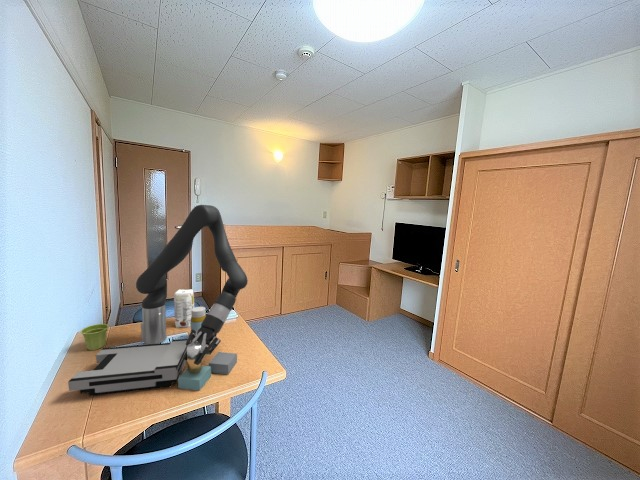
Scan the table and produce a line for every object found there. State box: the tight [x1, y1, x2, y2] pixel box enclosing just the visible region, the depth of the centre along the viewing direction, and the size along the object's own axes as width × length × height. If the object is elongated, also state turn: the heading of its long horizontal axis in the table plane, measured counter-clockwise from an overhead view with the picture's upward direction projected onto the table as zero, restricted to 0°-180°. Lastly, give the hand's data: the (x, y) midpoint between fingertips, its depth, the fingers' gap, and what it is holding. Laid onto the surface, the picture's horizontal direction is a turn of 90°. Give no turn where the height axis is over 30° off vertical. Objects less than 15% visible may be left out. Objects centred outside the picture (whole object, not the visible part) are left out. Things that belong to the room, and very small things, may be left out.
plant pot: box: [80, 323, 110, 351], centre depth 118 cm, size 9×9×9 cm
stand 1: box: [177, 365, 212, 392], centre depth 98 cm, size 8×8×4 cm
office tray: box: [67, 338, 188, 397], centre depth 100 cm, size 21×32×8 cm, turn 104°
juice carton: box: [173, 288, 195, 328], centre depth 141 cm, size 8×9×19 cm
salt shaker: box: [186, 341, 204, 373], centre depth 97 cm, size 5×5×9 cm
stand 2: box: [208, 351, 238, 375], centre depth 107 cm, size 8×8×4 cm
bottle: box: [190, 306, 207, 331], centre depth 128 cm, size 7×7×15 cm
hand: (190, 361), depth 95 cm, fingers closed on salt shaker, 5 cm apart
